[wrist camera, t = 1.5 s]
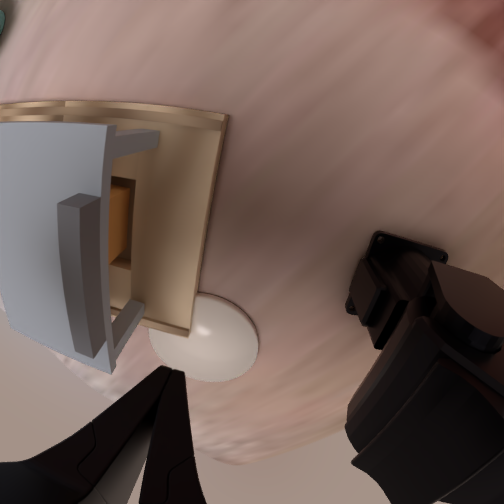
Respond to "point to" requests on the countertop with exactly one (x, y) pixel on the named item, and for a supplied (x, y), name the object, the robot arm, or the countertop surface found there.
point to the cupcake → (1, 20)
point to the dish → (210, 342)
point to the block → (117, 221)
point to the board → (154, 201)
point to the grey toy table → (63, 235)
